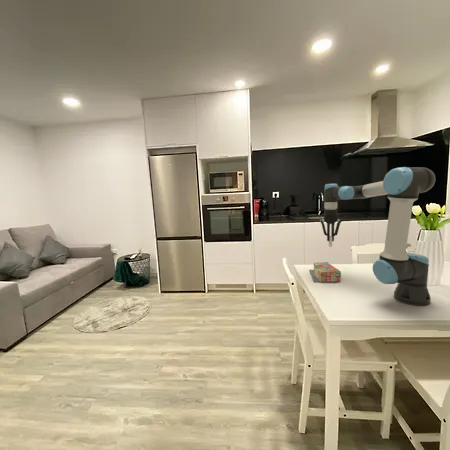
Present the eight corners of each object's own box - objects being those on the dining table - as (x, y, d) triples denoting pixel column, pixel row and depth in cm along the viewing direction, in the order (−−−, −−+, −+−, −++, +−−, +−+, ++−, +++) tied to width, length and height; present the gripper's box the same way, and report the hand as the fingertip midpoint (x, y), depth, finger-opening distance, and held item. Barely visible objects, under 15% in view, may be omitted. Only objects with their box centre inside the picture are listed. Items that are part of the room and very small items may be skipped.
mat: (336, 282, 162) (336, 282, 162) (313, 282, 164) (313, 281, 164) (329, 271, 185) (329, 270, 185) (309, 270, 187) (309, 269, 187)
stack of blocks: (327, 270, 184) (308, 271, 184) (327, 261, 183) (309, 262, 183) (340, 281, 162) (320, 282, 162) (340, 271, 162) (320, 271, 162)
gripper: (340, 208, 171) (340, 245, 173) (318, 208, 173) (318, 245, 176) (343, 209, 163) (342, 247, 166) (320, 209, 166) (320, 247, 168)
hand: (330, 246), depth 171 cm, fingers closed
